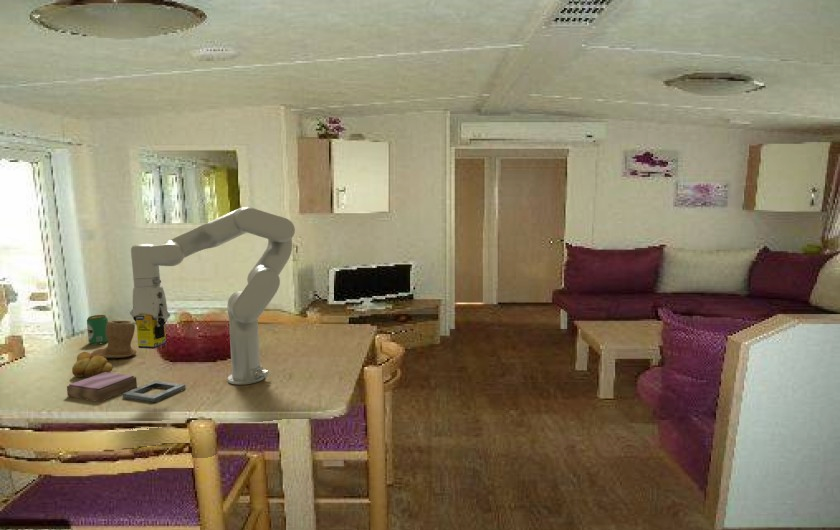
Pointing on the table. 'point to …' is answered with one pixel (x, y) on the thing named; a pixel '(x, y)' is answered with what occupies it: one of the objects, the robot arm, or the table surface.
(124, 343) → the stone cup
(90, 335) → the beverage can
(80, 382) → the pedestal
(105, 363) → the bread roll
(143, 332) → the supplement box
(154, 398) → the frame
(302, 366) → the table surface
